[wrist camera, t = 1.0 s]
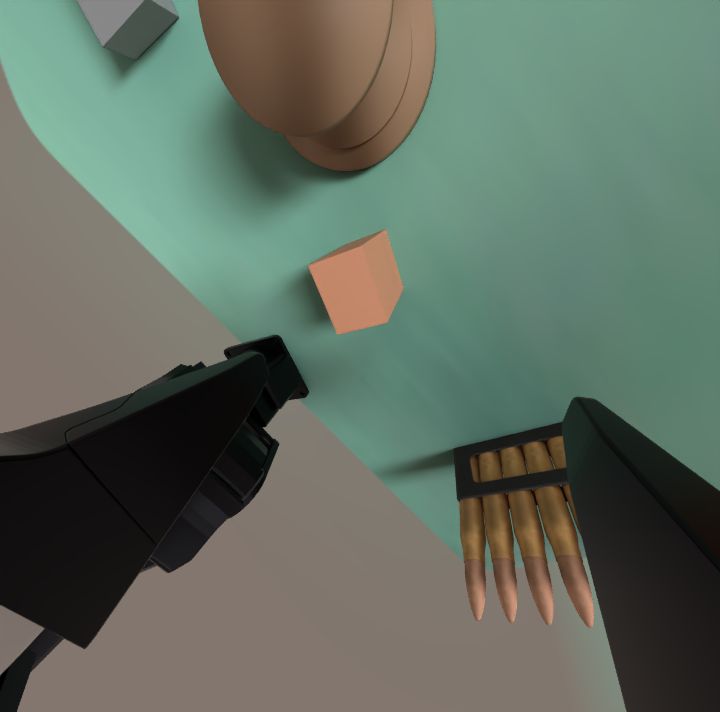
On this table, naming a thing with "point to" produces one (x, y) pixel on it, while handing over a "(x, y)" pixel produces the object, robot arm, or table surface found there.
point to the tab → (359, 283)
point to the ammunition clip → (519, 519)
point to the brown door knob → (327, 71)
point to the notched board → (128, 23)
